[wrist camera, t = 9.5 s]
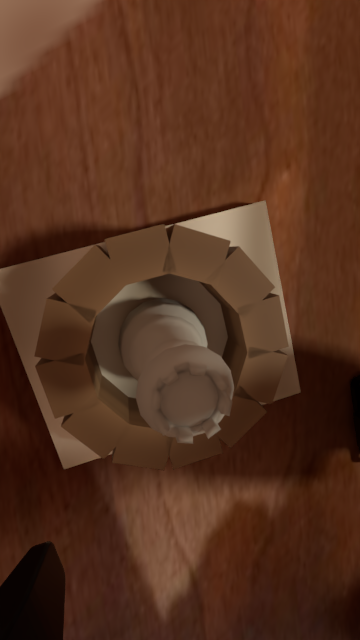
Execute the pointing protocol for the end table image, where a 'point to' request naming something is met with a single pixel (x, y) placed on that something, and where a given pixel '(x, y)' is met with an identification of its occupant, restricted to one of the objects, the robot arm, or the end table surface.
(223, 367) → the rook chess piece
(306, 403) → the end table surface
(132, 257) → the ring board
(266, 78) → the end table surface
